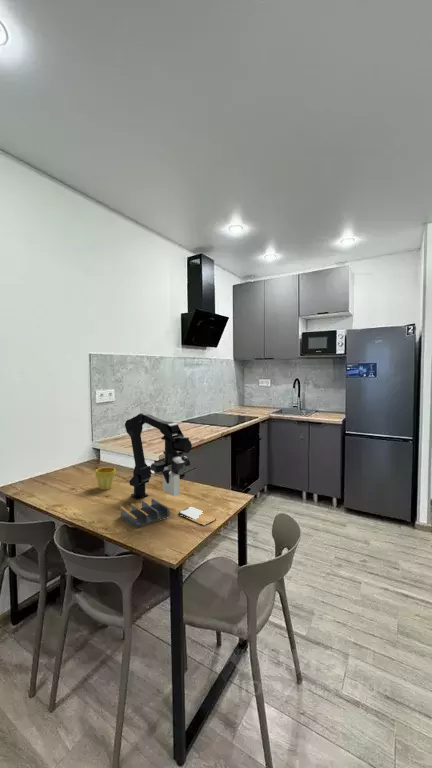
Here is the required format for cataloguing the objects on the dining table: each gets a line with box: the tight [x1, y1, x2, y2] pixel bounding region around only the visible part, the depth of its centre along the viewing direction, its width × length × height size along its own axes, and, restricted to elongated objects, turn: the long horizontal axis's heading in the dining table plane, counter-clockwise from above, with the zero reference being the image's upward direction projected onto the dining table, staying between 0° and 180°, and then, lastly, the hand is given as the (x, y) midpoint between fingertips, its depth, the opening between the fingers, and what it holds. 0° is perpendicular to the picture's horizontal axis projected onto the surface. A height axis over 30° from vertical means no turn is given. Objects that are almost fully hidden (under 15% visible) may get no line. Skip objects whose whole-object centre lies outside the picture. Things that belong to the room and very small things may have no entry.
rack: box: [119, 498, 170, 529], centre depth 139 cm, size 14×16×4 cm
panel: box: [162, 470, 180, 497], centre depth 150 cm, size 10×3×9 cm, turn 40°
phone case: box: [178, 506, 204, 520], centre depth 140 cm, size 9×2×16 cm
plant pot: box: [95, 466, 117, 491], centre depth 173 cm, size 10×10×10 cm
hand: (170, 482), depth 150 cm, fingers closed on panel, 3 cm apart
